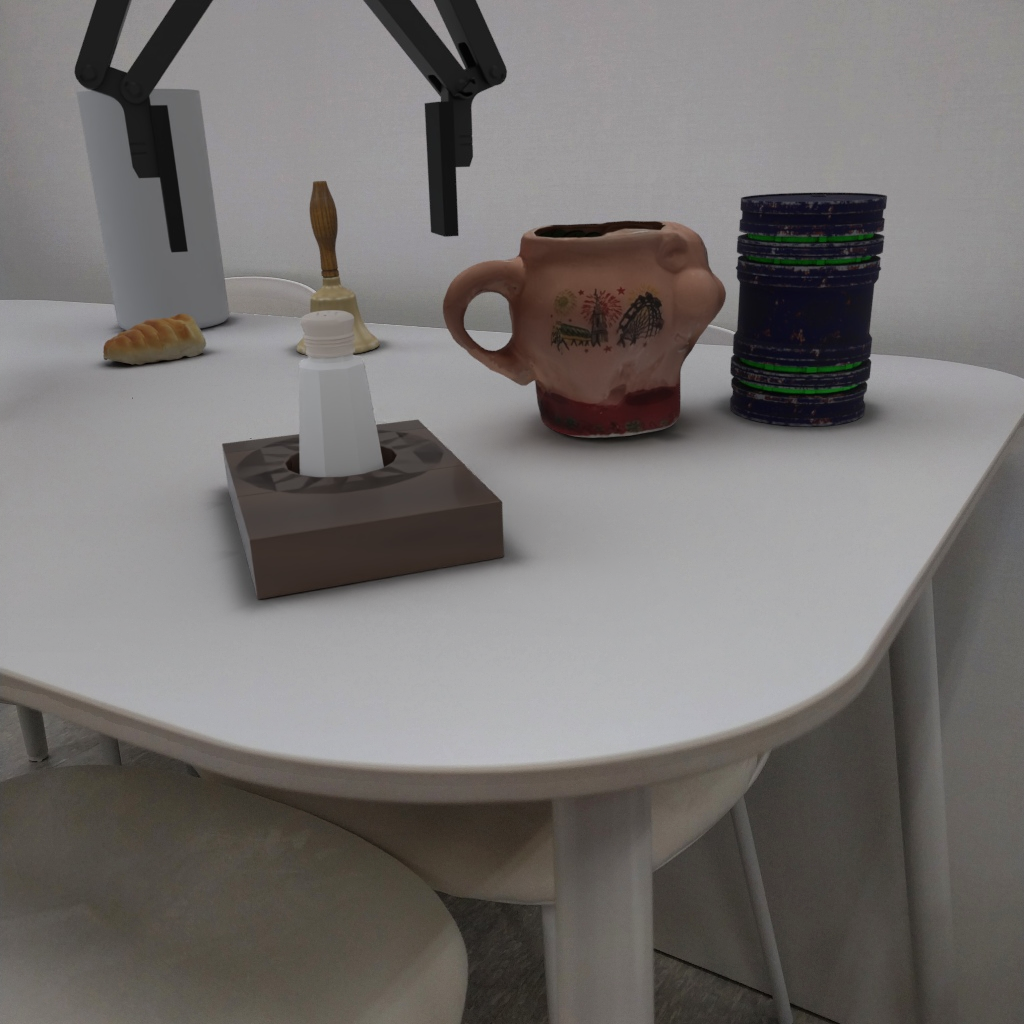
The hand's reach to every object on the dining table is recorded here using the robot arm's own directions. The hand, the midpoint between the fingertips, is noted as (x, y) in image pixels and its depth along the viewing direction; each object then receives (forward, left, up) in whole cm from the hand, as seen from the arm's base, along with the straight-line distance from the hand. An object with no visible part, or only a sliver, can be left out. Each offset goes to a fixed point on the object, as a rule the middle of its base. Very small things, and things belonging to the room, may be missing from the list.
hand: (317, 242), depth 50 cm
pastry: (-50, -9, -15) cm, 53 cm away
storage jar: (-7, +35, -15) cm, 39 cm away
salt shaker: (0, 0, -15) cm, 15 cm away
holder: (+2, 0, -15) cm, 15 cm away
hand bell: (-46, +8, -15) cm, 49 cm away
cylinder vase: (-69, -7, -15) cm, 71 cm away
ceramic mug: (-9, +19, -15) cm, 26 cm away
